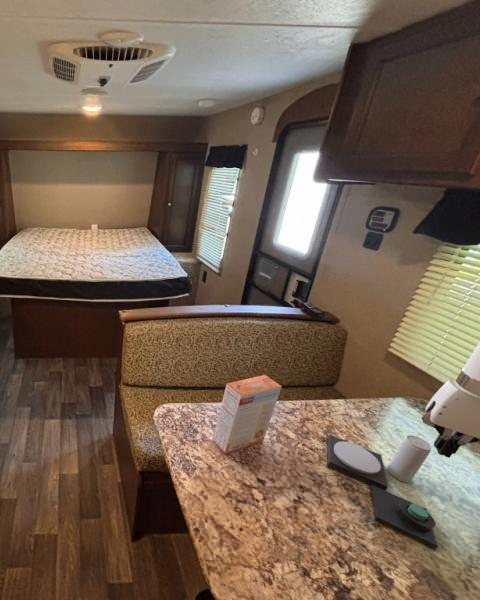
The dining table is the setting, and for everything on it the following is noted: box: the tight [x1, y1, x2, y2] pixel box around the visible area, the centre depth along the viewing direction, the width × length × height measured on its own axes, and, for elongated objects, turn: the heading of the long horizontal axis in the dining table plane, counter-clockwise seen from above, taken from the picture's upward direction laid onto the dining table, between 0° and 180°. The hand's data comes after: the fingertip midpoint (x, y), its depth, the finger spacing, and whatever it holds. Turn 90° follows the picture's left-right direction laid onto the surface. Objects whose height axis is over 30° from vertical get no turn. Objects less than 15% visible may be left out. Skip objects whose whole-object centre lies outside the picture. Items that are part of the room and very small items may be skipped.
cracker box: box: [212, 374, 283, 455], centre depth 89 cm, size 14×6×21 cm, turn 108°
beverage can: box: [386, 434, 432, 483], centre depth 82 cm, size 5×5×12 cm
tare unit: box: [369, 485, 438, 550], centre depth 74 cm, size 10×10×3 cm
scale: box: [326, 434, 389, 491], centre depth 87 cm, size 12×12×3 cm
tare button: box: [407, 503, 429, 521], centre depth 72 cm, size 3×3×2 cm
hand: (441, 451), depth 71 cm, fingers closed
